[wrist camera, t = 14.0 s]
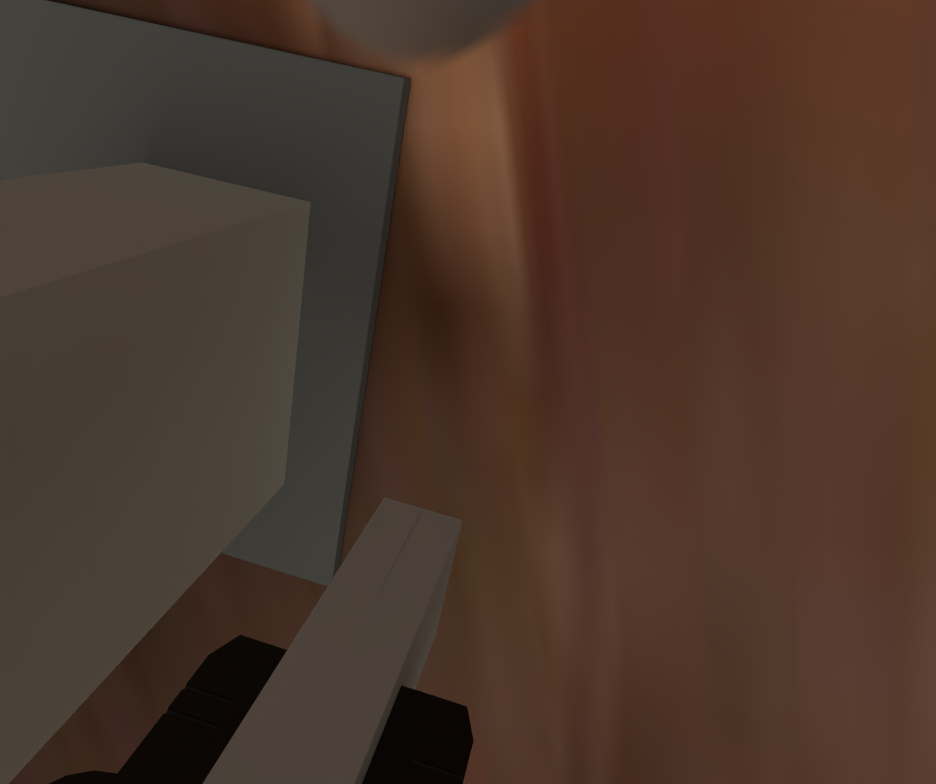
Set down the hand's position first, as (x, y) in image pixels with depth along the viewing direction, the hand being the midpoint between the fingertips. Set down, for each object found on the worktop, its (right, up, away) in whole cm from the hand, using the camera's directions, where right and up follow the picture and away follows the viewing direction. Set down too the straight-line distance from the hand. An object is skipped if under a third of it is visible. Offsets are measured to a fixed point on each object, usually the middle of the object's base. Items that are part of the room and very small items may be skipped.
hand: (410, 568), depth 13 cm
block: (-6, +5, +8) cm, 11 cm away
